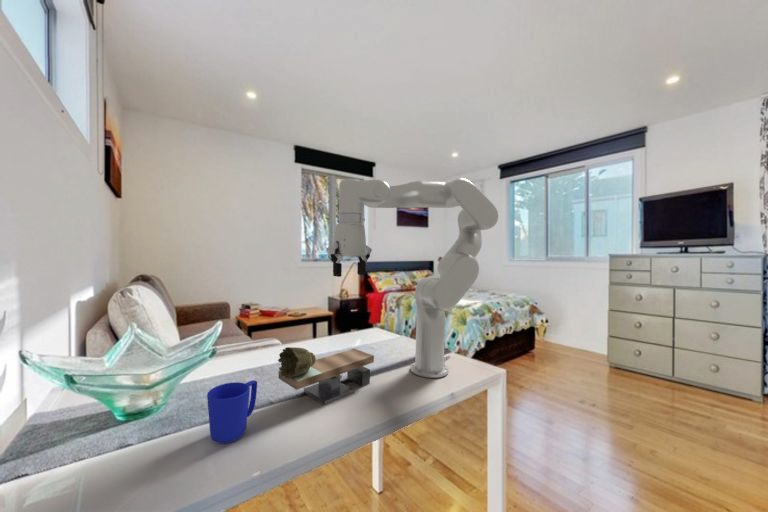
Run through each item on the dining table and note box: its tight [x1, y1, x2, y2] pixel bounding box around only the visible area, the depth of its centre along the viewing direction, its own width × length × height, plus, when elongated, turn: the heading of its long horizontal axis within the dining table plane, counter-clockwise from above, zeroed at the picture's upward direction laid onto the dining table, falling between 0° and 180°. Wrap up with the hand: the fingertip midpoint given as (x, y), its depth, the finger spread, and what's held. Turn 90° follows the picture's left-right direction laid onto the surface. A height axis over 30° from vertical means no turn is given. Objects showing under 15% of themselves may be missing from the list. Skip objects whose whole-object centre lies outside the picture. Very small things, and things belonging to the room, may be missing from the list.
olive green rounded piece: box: [277, 346, 317, 379], centre depth 82 cm, size 8×7×8 cm
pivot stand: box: [303, 366, 371, 405], centre depth 92 cm, size 18×10×5 cm, turn 136°
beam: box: [278, 348, 375, 391], centre depth 89 cm, size 26×10×3 cm, turn 136°
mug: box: [206, 379, 258, 444], centre depth 70 cm, size 8×12×10 cm
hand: (349, 275), depth 99 cm, fingers open, 9 cm apart
